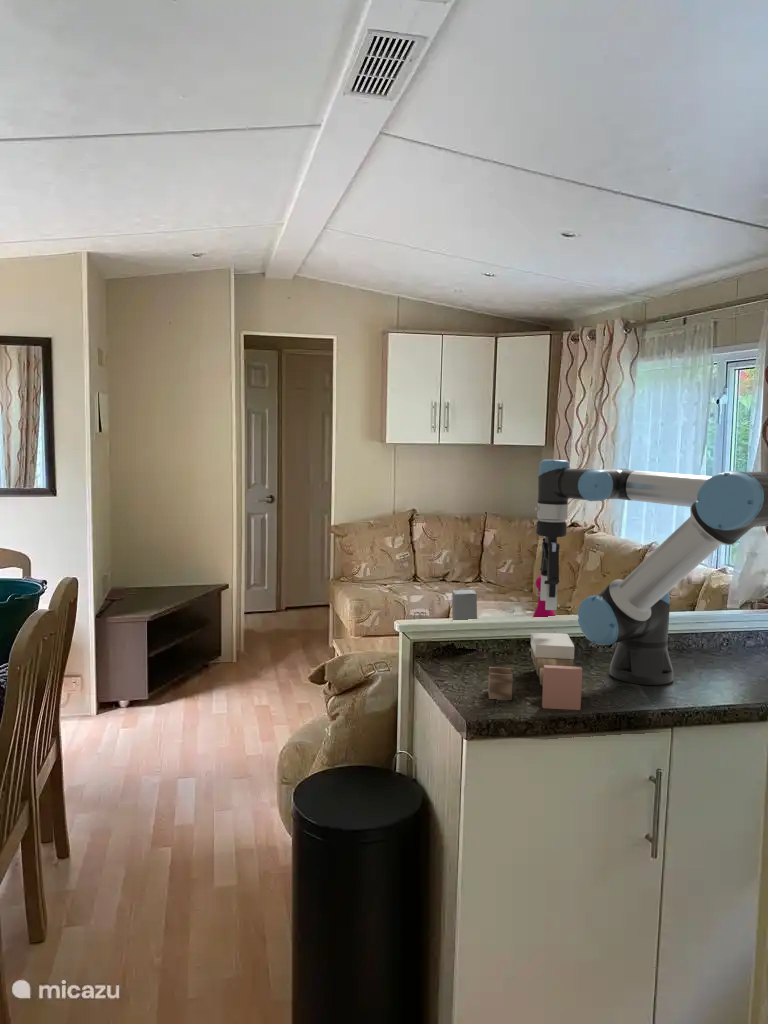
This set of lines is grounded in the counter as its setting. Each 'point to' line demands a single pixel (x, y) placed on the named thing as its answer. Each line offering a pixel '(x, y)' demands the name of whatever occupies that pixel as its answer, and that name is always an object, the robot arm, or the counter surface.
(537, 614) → the pepper mill
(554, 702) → the block
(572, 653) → the slab
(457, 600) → the skincare box
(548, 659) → the roller bed
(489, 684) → the pedestal
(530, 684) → the counter surface
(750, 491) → the robot arm
